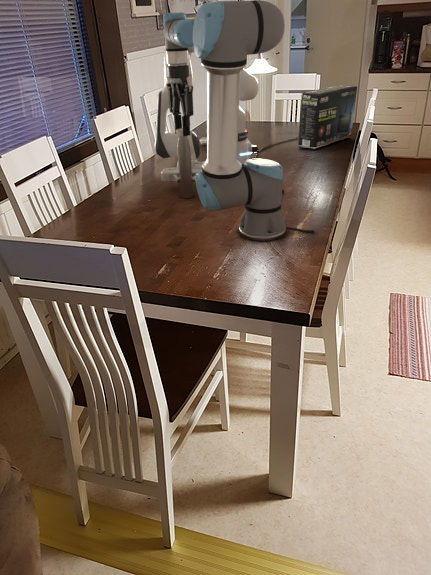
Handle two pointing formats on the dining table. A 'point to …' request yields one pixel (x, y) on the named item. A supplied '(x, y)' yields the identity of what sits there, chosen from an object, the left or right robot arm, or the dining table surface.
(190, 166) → the bottle
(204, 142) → the fossil
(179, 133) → the cap
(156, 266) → the dining table surface
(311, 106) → the router box
